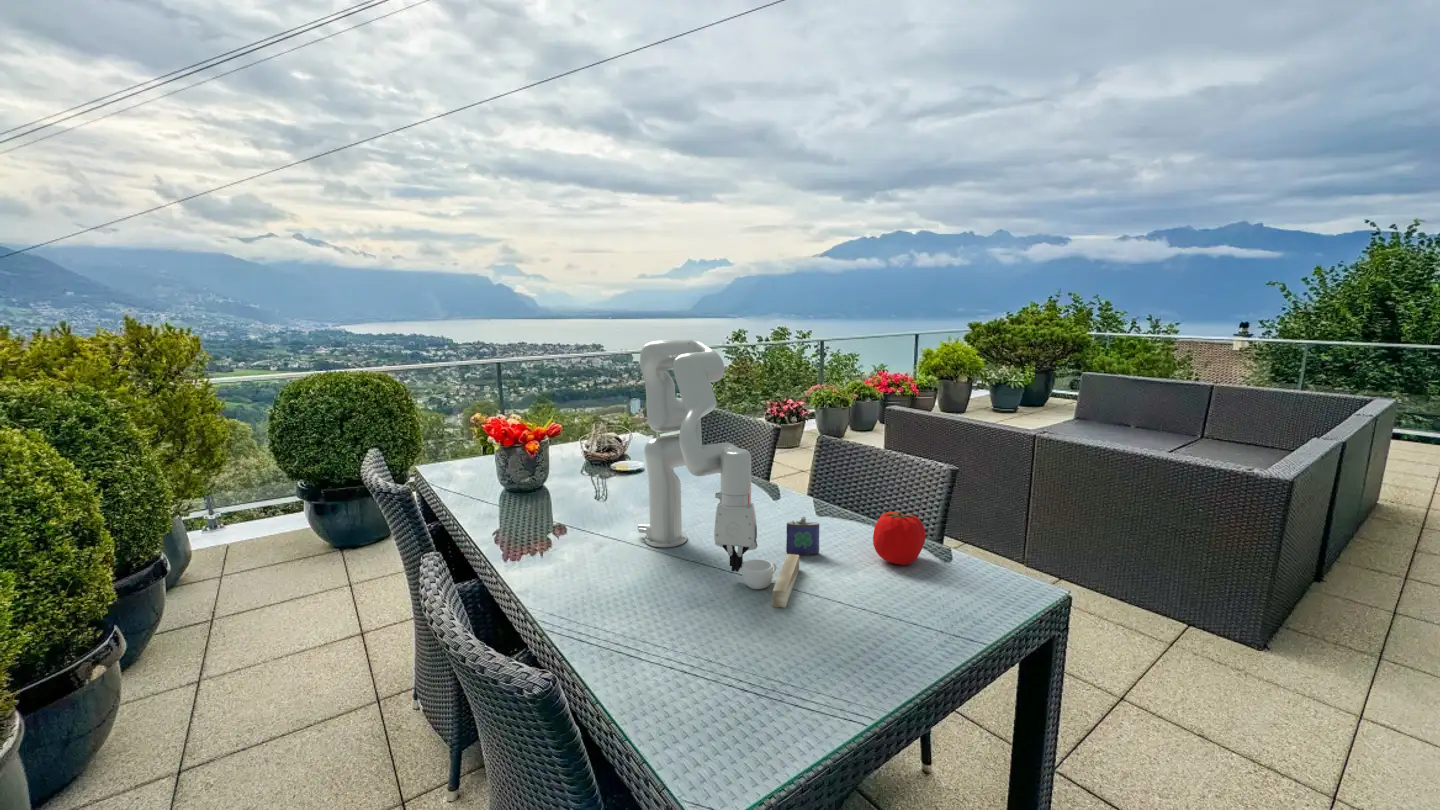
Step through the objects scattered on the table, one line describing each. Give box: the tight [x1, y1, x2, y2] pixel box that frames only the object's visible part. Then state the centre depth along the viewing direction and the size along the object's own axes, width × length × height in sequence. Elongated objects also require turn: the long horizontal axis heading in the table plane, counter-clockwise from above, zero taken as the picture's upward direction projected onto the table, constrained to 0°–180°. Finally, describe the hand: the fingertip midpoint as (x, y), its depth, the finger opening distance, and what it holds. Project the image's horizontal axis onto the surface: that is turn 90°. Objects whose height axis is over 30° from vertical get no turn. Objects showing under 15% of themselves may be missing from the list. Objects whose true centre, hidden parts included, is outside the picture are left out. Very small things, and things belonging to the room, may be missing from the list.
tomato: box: [872, 511, 927, 566], centre depth 158 cm, size 16×14×14 cm
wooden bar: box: [772, 554, 800, 609], centre depth 143 cm, size 3×22×4 cm, turn 164°
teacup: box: [741, 558, 777, 590], centre depth 145 cm, size 10×8×5 cm
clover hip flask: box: [785, 516, 820, 556], centre depth 164 cm, size 9×3×11 cm, turn 88°
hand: (736, 569), depth 147 cm, fingers closed
